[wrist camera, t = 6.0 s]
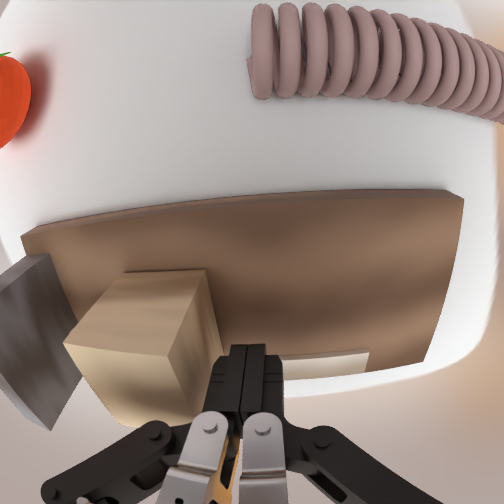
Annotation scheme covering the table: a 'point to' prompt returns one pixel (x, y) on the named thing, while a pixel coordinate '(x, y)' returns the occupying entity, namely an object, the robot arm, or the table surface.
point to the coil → (374, 59)
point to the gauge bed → (243, 281)
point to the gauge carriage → (149, 346)
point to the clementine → (12, 97)
